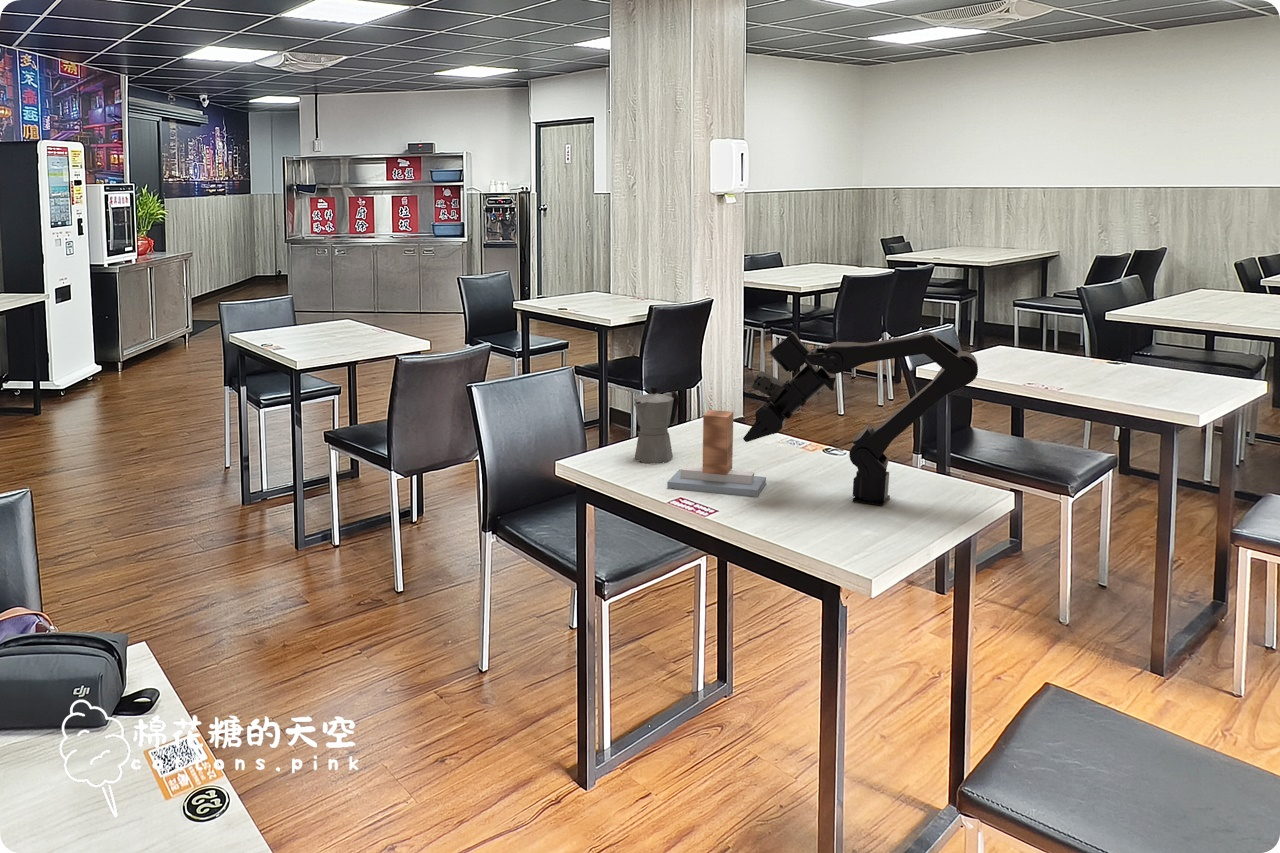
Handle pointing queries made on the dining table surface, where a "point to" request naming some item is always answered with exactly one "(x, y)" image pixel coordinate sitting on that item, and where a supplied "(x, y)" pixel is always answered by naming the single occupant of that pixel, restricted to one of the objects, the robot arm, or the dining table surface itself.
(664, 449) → the coffeepot
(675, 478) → the ridge board
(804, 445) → the dining table surface
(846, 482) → the dining table surface
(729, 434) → the cherry block
